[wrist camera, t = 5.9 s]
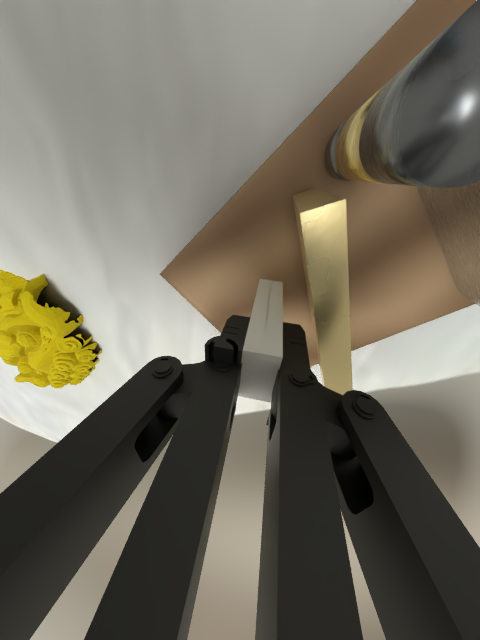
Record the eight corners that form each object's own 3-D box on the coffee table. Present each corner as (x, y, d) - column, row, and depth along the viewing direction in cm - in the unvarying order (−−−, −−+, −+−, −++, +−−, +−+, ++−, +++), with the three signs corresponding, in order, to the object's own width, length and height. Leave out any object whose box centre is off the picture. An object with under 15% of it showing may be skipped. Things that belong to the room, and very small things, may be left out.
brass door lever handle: (284, 146, 10) (285, 110, 5) (381, 105, 9) (541, -12, 3) (313, 333, 16) (328, 412, 11) (373, 326, 15) (423, 411, 10)
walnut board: (165, 269, 17) (159, 274, 16) (445, -27, 8) (465, -51, 7) (272, 374, 22) (271, 381, 21) (518, 274, 13) (534, 281, 12)
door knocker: (-59, 266, 22) (-120, 282, 19) (60, 272, 20) (13, 292, 16) (34, 367, 32) (4, 390, 29) (122, 381, 29) (101, 407, 26)
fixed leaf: (315, 149, 10) (377, 95, 3) (410, 58, 8) (1074, -566, 1) (404, 313, 14) (514, 439, 8) (482, 281, 12) (733, 414, 5)
